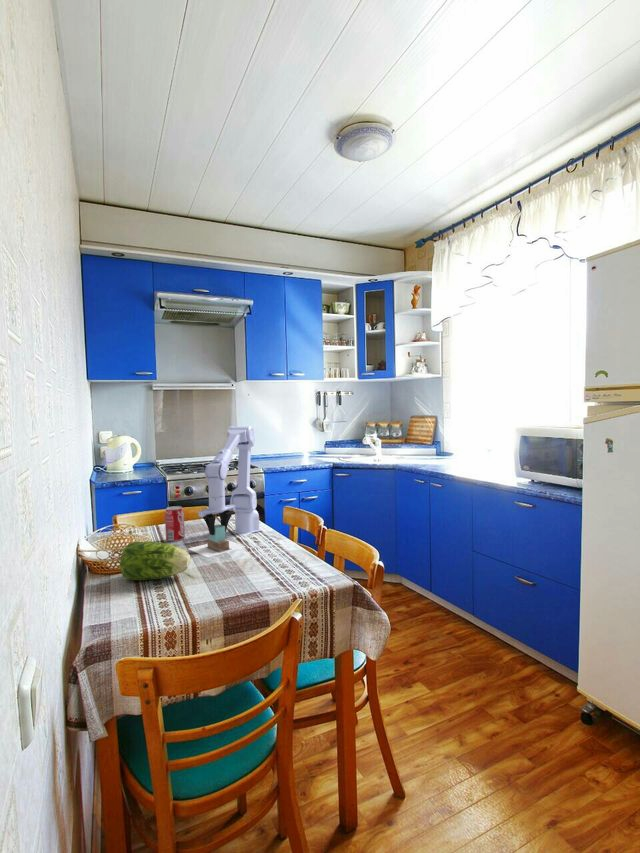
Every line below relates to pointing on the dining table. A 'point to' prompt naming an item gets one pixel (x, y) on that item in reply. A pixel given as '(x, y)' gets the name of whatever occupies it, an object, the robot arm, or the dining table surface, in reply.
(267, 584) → the dining table surface
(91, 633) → the dining table surface
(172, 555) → the lettuce
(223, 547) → the base brick
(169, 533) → the soda can
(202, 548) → the plate
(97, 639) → the dining table surface
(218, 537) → the teal block
